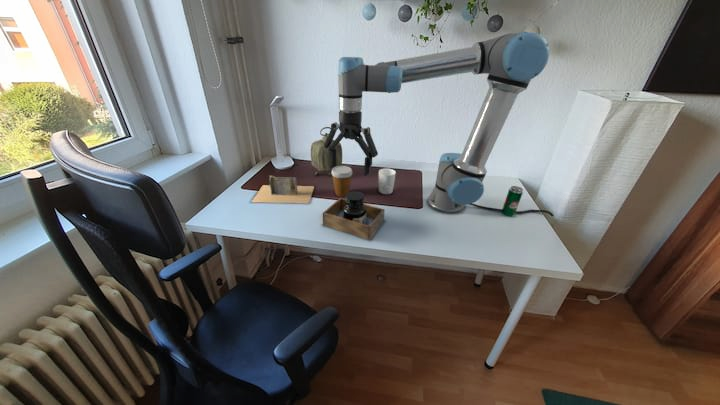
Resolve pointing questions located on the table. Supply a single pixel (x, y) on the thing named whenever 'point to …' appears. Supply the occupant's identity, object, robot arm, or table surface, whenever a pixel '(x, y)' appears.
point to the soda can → (512, 200)
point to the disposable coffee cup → (341, 179)
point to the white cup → (386, 180)
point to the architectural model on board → (284, 191)
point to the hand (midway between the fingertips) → (349, 170)
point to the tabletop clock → (324, 154)
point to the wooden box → (352, 226)
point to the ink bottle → (355, 207)
